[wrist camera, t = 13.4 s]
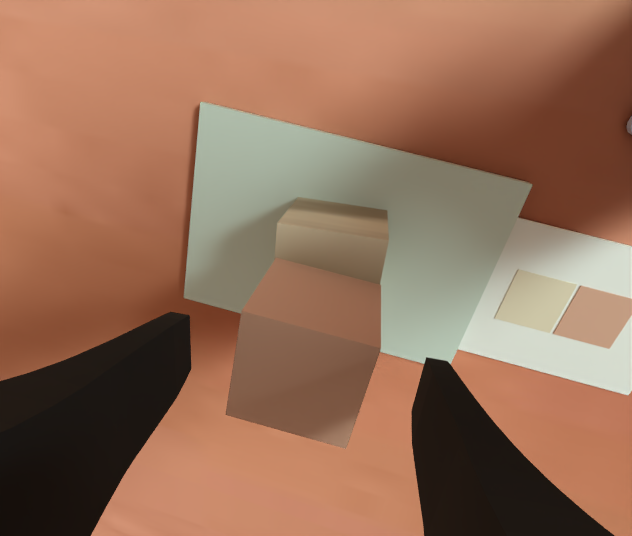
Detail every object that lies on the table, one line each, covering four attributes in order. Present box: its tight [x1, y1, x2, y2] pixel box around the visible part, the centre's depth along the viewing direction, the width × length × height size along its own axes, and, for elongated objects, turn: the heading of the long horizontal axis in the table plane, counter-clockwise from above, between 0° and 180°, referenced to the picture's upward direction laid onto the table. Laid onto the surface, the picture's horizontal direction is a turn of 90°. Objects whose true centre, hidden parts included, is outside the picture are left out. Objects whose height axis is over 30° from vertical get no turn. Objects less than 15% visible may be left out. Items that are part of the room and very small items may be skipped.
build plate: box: [184, 102, 533, 364], centre depth 21 cm, size 11×16×1 cm
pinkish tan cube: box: [226, 258, 381, 449], centre depth 15 cm, size 4×4×4 cm
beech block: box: [274, 197, 389, 285], centre depth 19 cm, size 4×4×4 cm
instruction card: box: [458, 217, 632, 395], centre depth 21 cm, size 8×11×1 cm
